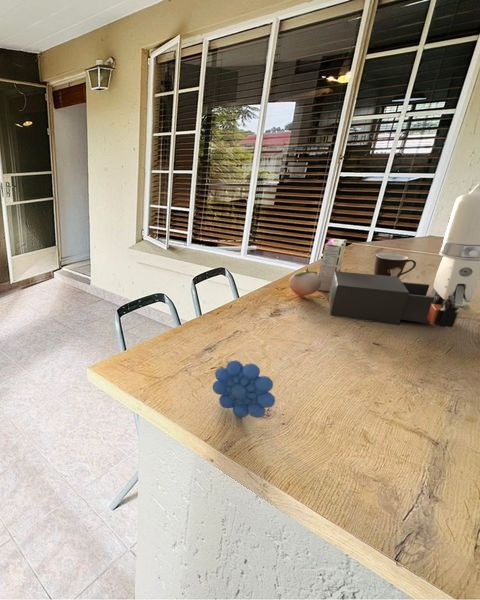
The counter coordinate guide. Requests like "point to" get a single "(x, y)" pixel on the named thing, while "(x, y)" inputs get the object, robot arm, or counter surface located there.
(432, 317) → the block
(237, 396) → the blue bumpy cluster
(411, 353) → the counter surface
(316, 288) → the decorative fruit
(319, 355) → the counter surface
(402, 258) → the coffee mug
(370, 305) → the cabinet
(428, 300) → the drawer
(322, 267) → the candy bar box
